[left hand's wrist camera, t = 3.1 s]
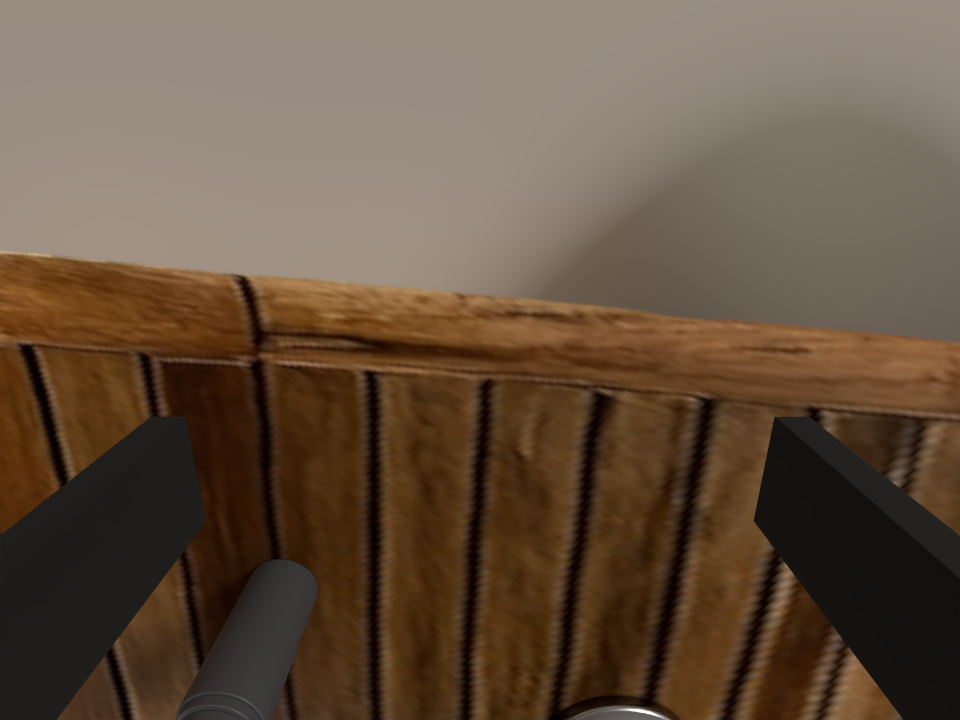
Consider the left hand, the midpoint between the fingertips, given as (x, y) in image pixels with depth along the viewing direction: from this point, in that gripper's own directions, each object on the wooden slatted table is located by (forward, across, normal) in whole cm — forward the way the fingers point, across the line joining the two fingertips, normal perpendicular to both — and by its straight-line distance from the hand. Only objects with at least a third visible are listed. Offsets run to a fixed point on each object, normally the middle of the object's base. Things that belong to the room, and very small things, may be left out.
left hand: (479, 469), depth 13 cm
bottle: (+28, +17, +29) cm, 44 cm away
